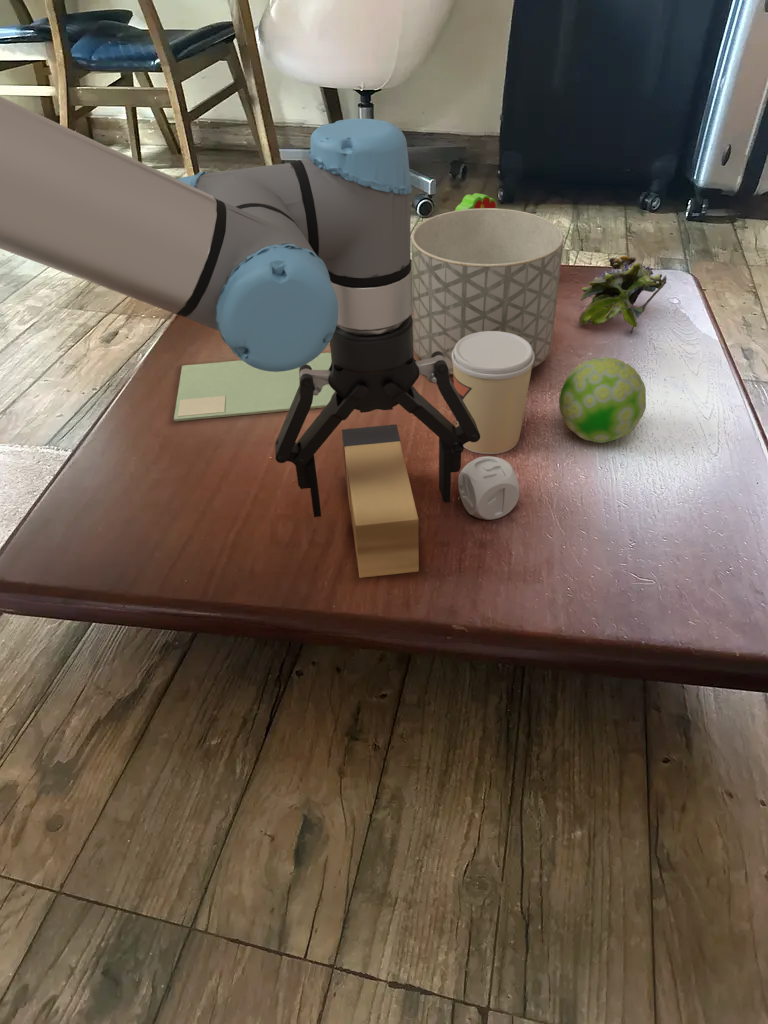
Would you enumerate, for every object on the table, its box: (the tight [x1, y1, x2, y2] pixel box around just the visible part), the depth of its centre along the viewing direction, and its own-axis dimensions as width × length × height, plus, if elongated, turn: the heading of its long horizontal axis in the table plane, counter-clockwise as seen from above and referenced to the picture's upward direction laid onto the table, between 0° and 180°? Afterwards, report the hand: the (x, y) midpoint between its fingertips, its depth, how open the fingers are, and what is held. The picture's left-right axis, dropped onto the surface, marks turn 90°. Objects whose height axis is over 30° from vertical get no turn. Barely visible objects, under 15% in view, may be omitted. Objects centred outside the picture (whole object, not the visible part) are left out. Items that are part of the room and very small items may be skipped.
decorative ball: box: [558, 356, 647, 444], centre depth 92 cm, size 10×10×10 cm
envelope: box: [173, 351, 335, 423], centre depth 107 cm, size 24×14×1 cm, turn 97°
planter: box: [410, 207, 565, 375], centre depth 104 cm, size 19×19×18 cm
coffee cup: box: [452, 331, 534, 455], centre depth 92 cm, size 9×9×12 cm
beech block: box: [341, 423, 420, 579], centre depth 82 cm, size 16×6×7 cm, turn 7°
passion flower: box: [579, 255, 668, 335], centre depth 115 cm, size 11×11×12 cm
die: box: [457, 455, 520, 521], centre depth 84 cm, size 5×5×5 cm
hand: (381, 501), depth 82 cm, fingers open, 13 cm apart
